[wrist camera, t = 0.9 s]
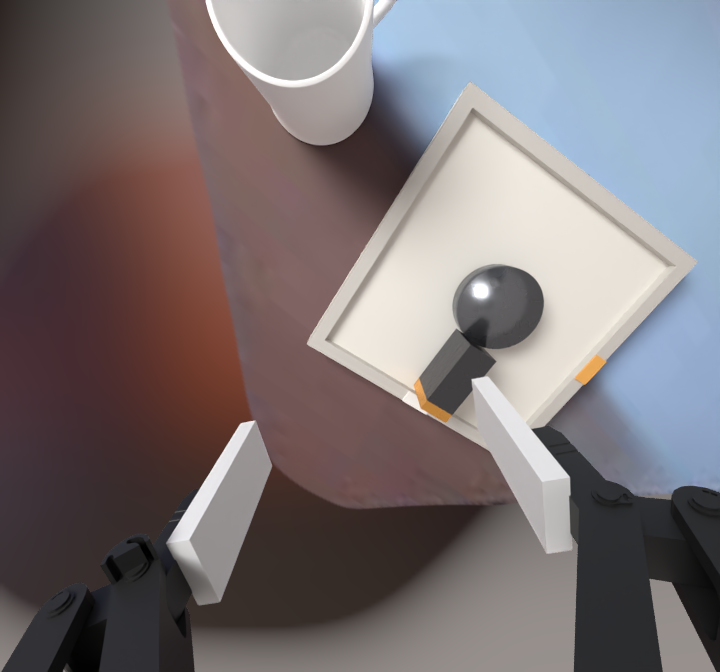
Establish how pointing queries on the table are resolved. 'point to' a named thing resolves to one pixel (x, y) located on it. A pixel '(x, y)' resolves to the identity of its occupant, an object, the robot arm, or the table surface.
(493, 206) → the white square tray
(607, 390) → the table surface
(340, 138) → the mug
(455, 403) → the dark grey handled piece
